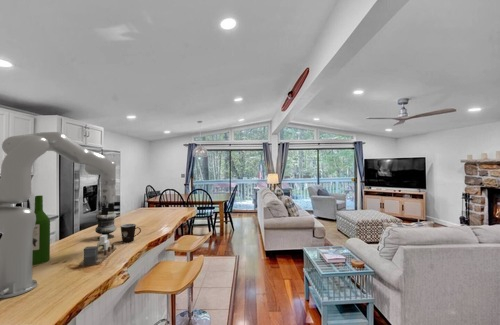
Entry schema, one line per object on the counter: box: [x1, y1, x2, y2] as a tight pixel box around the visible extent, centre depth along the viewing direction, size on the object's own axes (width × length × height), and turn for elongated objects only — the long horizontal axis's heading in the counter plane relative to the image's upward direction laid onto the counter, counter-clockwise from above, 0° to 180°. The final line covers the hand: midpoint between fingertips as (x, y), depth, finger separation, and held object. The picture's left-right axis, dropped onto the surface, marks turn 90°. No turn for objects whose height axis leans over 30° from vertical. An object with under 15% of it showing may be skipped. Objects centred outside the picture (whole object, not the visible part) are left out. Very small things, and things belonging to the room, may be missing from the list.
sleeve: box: [96, 234, 111, 251], centre depth 133 cm, size 5×4×8 cm
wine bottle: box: [32, 195, 51, 266], centre depth 121 cm, size 9×9×32 cm
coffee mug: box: [120, 223, 142, 244], centre depth 153 cm, size 12×9×10 cm
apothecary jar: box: [94, 209, 117, 241], centre depth 162 cm, size 12×12×18 cm
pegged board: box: [78, 243, 117, 267], centre depth 128 cm, size 22×9×8 cm, turn 11°
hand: (108, 213), depth 140 cm, fingers open, 8 cm apart
